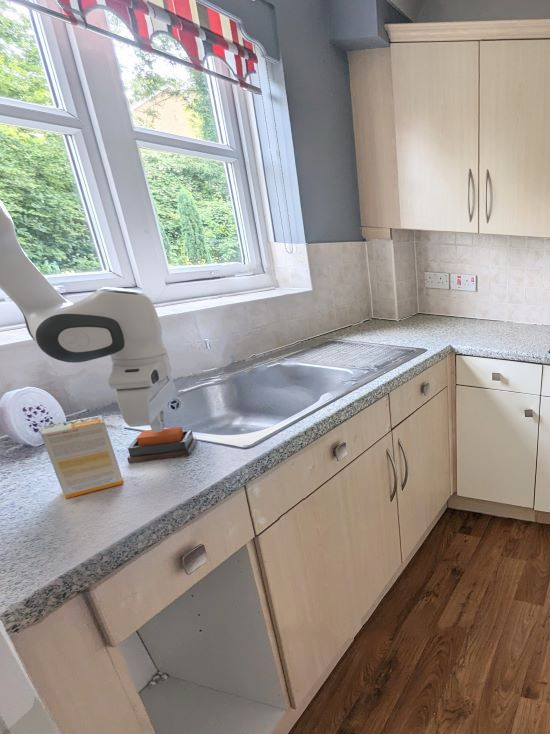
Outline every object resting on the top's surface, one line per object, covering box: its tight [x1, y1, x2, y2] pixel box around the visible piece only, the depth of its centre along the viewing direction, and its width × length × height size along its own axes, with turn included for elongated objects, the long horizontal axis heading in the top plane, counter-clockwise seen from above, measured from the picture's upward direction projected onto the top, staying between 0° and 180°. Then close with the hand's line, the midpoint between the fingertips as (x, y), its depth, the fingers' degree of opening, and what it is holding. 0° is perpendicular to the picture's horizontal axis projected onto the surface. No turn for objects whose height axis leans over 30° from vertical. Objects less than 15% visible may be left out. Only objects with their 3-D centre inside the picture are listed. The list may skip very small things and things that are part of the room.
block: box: [136, 426, 184, 446], centre depth 98 cm, size 7×4×4 cm, turn 114°
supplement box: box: [40, 414, 124, 499], centre depth 83 cm, size 8×5×13 cm, turn 134°
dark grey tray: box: [127, 429, 198, 464], centre depth 99 cm, size 10×8×3 cm
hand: (159, 429), depth 98 cm, fingers closed
